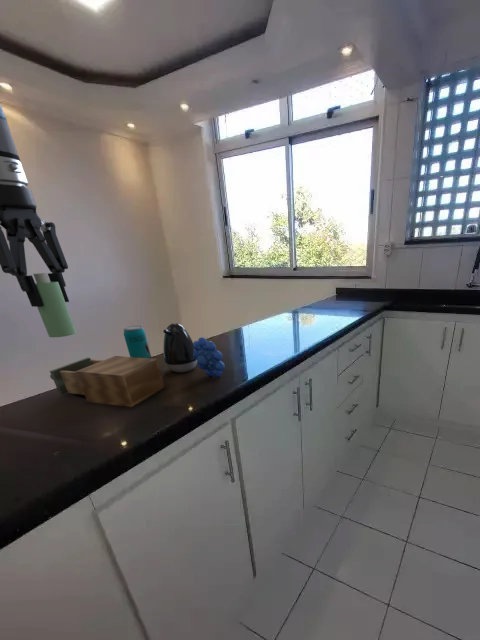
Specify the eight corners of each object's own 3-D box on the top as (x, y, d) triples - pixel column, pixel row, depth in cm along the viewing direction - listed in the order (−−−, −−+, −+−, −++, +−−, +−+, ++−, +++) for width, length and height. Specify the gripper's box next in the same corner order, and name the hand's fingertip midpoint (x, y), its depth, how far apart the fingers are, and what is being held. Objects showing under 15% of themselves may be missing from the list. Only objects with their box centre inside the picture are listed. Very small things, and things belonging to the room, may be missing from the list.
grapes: (187, 378, 95) (179, 339, 89) (203, 370, 100) (196, 334, 95) (215, 384, 89) (208, 343, 84) (231, 376, 95) (225, 337, 89)
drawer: (47, 392, 86) (37, 369, 83) (84, 377, 96) (76, 356, 93) (97, 398, 81) (88, 374, 78) (130, 382, 91) (123, 360, 88)
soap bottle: (43, 337, 75) (17, 274, 68) (64, 331, 79) (42, 272, 73) (60, 337, 73) (36, 274, 67) (81, 332, 78) (60, 272, 72)
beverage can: (156, 375, 98) (144, 327, 91) (136, 379, 95) (122, 330, 89) (154, 369, 102) (142, 324, 96) (135, 373, 100) (121, 327, 93)
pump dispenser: (160, 374, 98) (148, 326, 91) (179, 363, 107) (169, 319, 100) (188, 376, 96) (178, 327, 89) (205, 365, 105) (197, 319, 98)
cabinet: (87, 401, 82) (75, 371, 78) (123, 383, 93) (115, 355, 89) (131, 407, 78) (121, 375, 74) (164, 387, 89) (157, 358, 85)
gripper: (-36, 175, 54) (21, 311, 64) (63, 191, 70) (96, 298, 80) (-65, 179, 56) (-4, 311, 66) (38, 194, 72) (74, 298, 82)
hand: (51, 303), depth 73 cm, fingers closed on soap bottle, 6 cm apart
